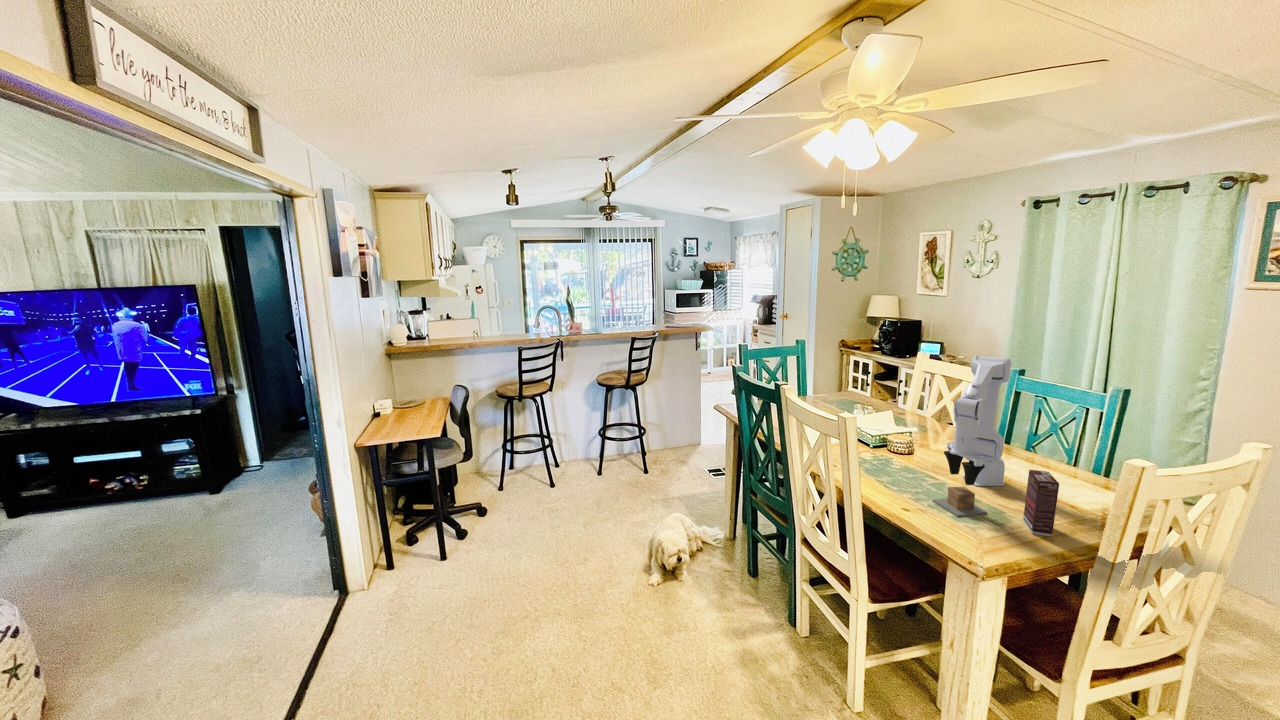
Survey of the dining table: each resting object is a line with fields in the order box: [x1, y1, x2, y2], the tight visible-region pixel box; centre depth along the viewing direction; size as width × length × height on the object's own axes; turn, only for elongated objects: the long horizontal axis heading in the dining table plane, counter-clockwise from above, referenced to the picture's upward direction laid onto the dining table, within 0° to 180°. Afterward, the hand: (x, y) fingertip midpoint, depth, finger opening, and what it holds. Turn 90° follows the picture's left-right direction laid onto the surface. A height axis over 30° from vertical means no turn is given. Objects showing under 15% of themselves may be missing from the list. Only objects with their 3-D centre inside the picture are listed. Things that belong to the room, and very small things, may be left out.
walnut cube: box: [947, 486, 976, 510], centre depth 153 cm, size 5×5×5 cm
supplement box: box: [1022, 469, 1060, 538], centre depth 138 cm, size 9×5×16 cm, turn 157°
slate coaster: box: [932, 497, 988, 518], centre depth 153 cm, size 10×10×1 cm
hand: (961, 479), depth 151 cm, fingers open, 7 cm apart
